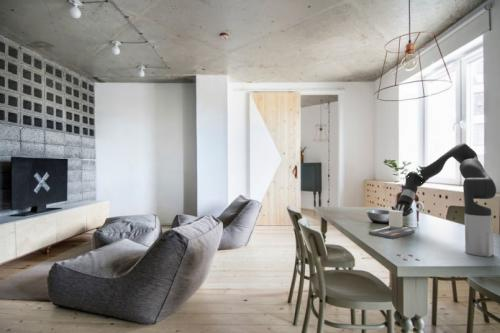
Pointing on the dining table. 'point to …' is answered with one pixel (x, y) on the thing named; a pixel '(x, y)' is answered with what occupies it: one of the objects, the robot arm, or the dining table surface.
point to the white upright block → (395, 219)
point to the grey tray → (391, 232)
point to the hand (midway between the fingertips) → (397, 220)
